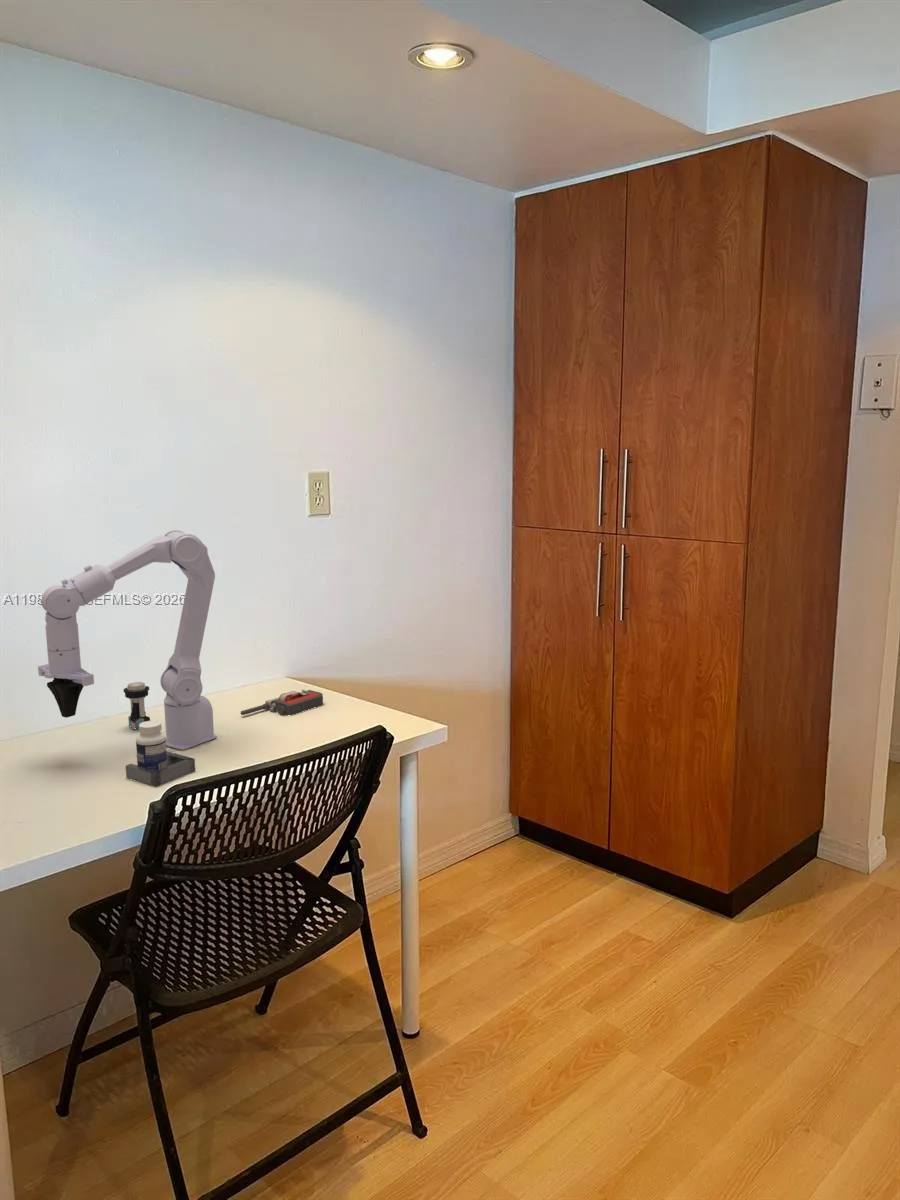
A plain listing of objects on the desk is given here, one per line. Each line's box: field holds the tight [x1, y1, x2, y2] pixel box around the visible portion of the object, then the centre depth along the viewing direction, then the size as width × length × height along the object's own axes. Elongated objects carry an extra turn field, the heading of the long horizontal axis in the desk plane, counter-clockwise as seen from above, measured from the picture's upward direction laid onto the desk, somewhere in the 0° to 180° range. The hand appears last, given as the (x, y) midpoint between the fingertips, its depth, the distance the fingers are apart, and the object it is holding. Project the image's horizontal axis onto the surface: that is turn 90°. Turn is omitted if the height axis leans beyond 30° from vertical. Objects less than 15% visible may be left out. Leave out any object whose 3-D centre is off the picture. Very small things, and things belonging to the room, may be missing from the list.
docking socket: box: [125, 750, 196, 788], centre depth 170 cm, size 9×8×2 cm
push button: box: [123, 681, 151, 730], centre depth 196 cm, size 7×5×10 cm
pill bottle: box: [135, 720, 167, 771], centre depth 171 cm, size 5×5×10 cm
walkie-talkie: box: [240, 688, 324, 716], centre depth 210 cm, size 9×4×20 cm
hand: (68, 715), depth 175 cm, fingers closed
